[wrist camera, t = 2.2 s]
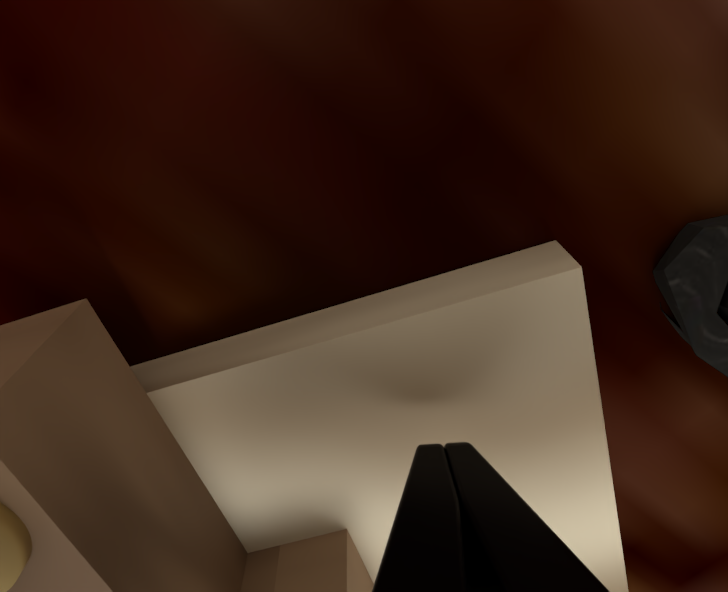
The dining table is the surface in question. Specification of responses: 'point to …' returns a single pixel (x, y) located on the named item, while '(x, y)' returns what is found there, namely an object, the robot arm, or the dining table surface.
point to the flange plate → (120, 483)
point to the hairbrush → (699, 287)
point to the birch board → (403, 407)
